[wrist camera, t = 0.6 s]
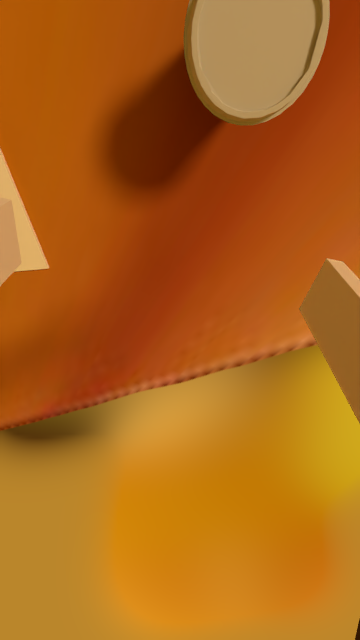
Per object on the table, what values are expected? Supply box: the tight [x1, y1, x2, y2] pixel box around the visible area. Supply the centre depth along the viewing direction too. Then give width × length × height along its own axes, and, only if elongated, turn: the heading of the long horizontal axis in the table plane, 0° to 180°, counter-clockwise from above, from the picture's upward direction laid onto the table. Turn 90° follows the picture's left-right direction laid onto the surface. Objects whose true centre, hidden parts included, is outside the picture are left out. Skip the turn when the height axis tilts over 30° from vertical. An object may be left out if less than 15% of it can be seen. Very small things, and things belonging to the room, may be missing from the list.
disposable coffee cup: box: [184, 0, 330, 125], centre depth 23 cm, size 10×10×12 cm
